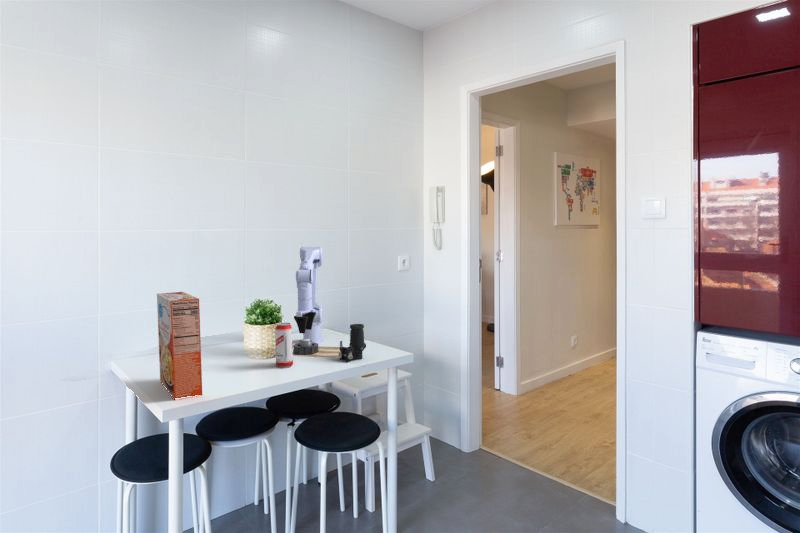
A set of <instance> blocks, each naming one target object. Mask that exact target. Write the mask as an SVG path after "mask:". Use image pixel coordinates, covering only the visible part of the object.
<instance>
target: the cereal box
mask: <svg viewBox="0 0 800 533" xmlns="http://www.w3.org/2000/svg"><path fill="white" fill-rule="evenodd" d="M156 301H157V302H156V308H157V327H158V328H157V329H158V332H157V334H158V355H159V356H158V357H159V378H160V379H159V380H160V381H161V382H162V383H163V385H164V386H165V387H166V388H167V390H168V391H169V393H170V394H171V395H172V397H173V398H174V399H175V398H181V397H187V396H195V395H201V396H203V379H202V378H203V377H202V375H203V372H202V371H203V370H202V350H201V349H202V347H201V346H202V343H201V342H202V341H201V320H200V319H201V315H200V298H199V297H195V296H193V295H191V294H189V293H186V292H184V291H177V292H163V293H156ZM161 382H160V383H161ZM163 385H162V386H163ZM164 386H163V387H164ZM167 390H166V391H167ZM169 393H168V394H169ZM170 394H169V395H170ZM172 397H171V398H172ZM173 398H172V399H173Z"/></svg>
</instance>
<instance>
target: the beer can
mask: <svg viewBox="0 0 800 533" xmlns="http://www.w3.org/2000/svg"><path fill="white" fill-rule="evenodd" d="M274 333H275V334H274V336H275V337H274V338H275V366H277V367H278V368H280V369H285V368H286V367H287V368H290V367H292V366H293V364H294V356H293V345H294V344H293V337H294V336H293V327H292V325H291V323H290V322H278V323H277V324H276V327H275V330H274Z"/></svg>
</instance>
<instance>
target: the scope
mask: <svg viewBox="0 0 800 533" xmlns="http://www.w3.org/2000/svg"><path fill="white" fill-rule="evenodd" d="M349 329H350V330H349V331H350V334H349V346H343V340H340V341H339V347H340V352H339V357H341V358H339V361H345V362H346V363H349V362H350V363H351V362H352V361H361V360H362V359H363V351H364V350H365V349H366V348H367V344H366V342H365V331H364V329H365V325H364V324H363V323H353V324H350V325H349Z"/></svg>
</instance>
